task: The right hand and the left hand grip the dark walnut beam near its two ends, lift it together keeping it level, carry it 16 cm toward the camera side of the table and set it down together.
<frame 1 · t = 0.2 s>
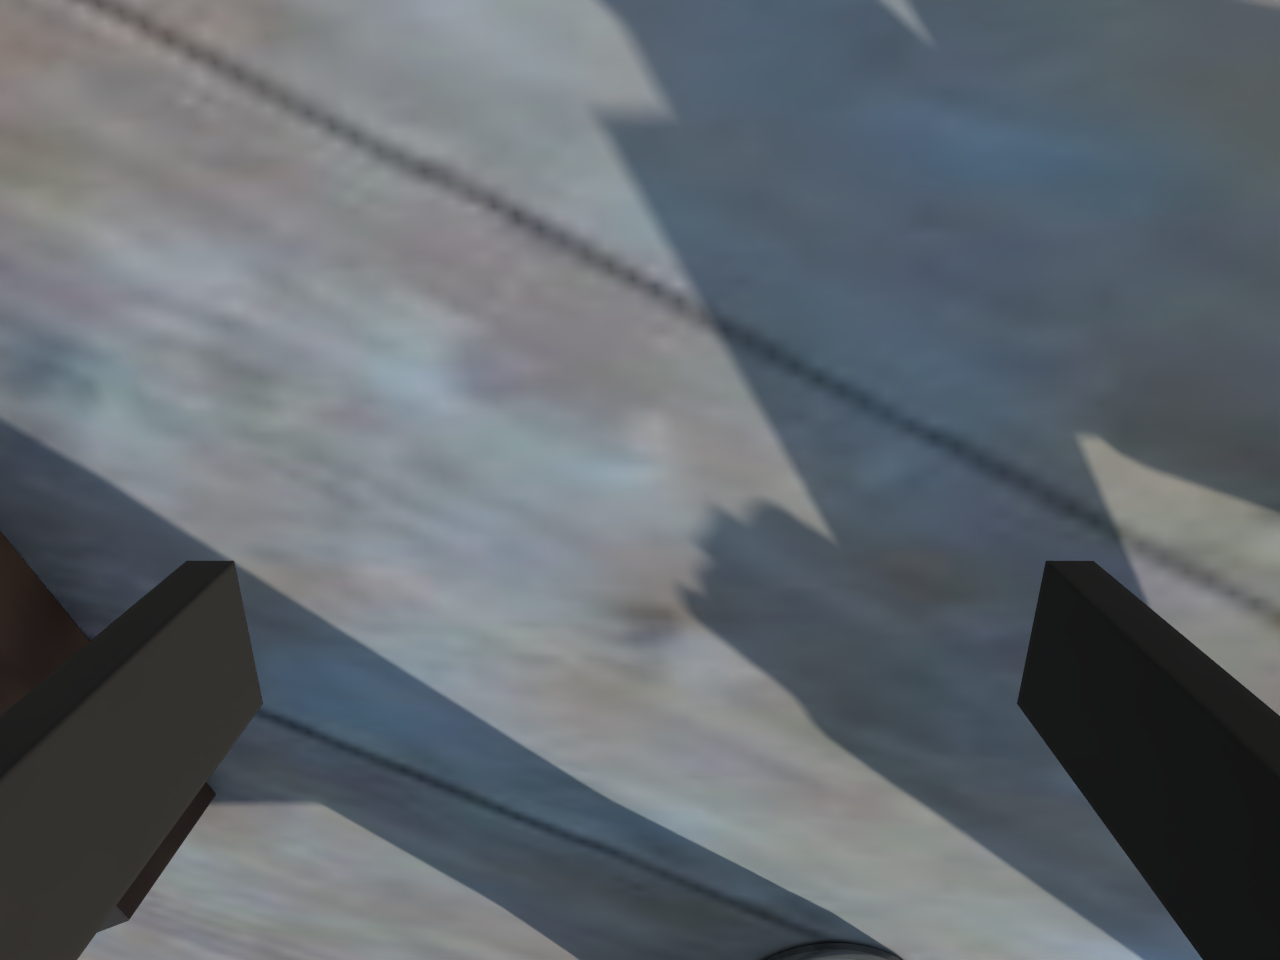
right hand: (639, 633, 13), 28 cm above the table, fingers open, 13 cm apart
walnut beam: (35, 632, 45), on the table
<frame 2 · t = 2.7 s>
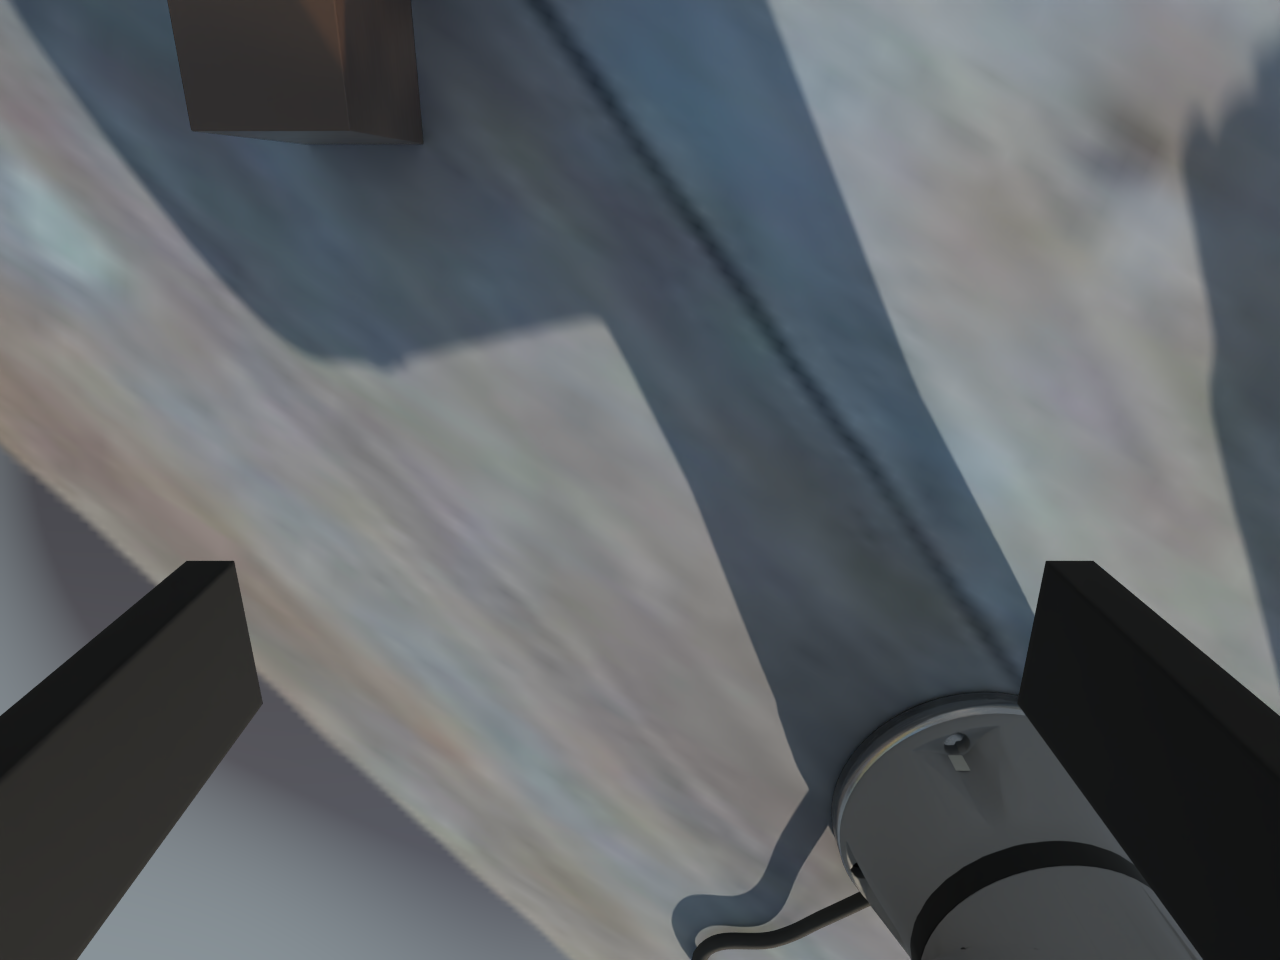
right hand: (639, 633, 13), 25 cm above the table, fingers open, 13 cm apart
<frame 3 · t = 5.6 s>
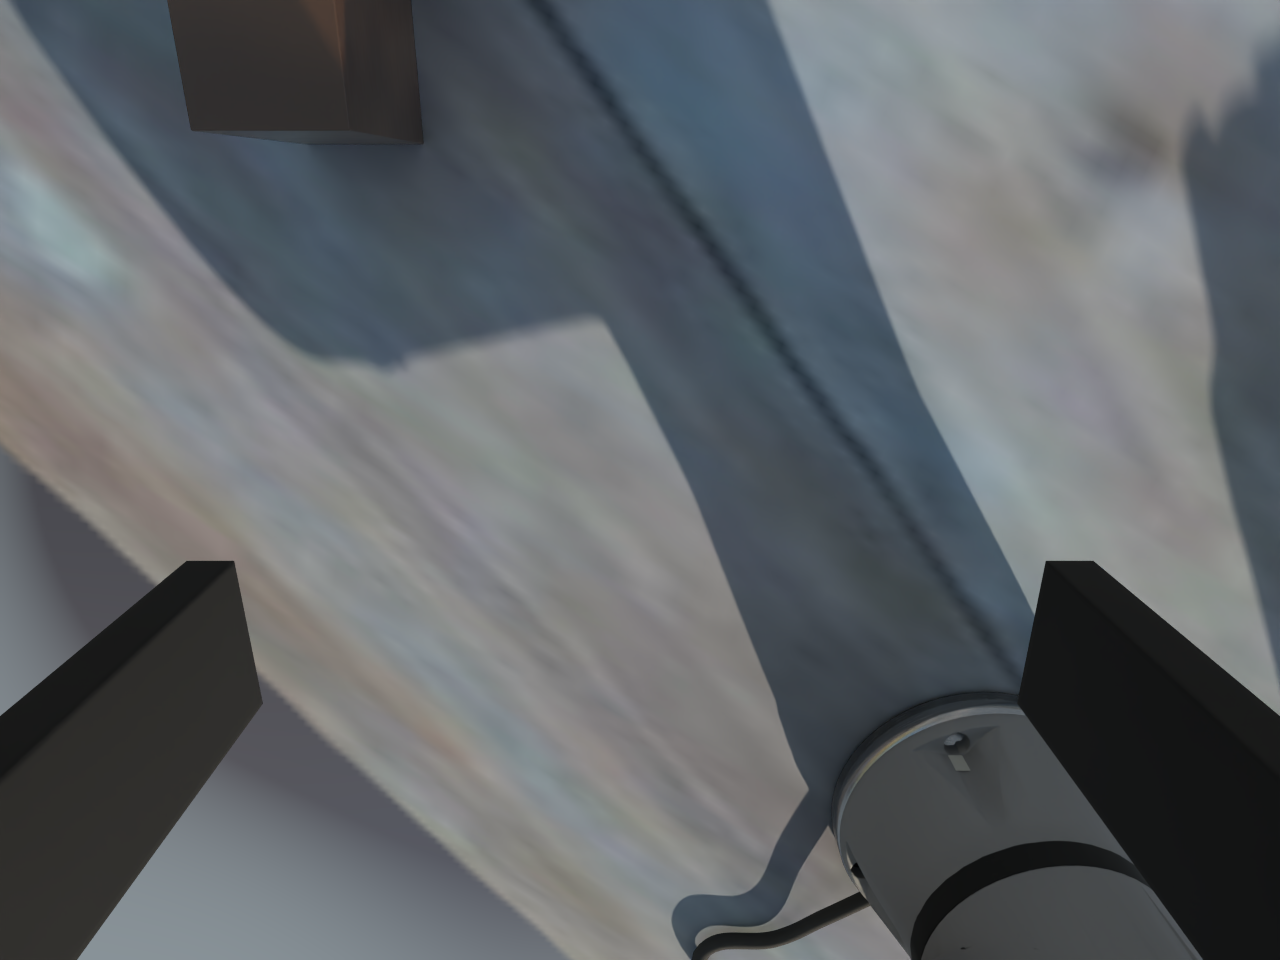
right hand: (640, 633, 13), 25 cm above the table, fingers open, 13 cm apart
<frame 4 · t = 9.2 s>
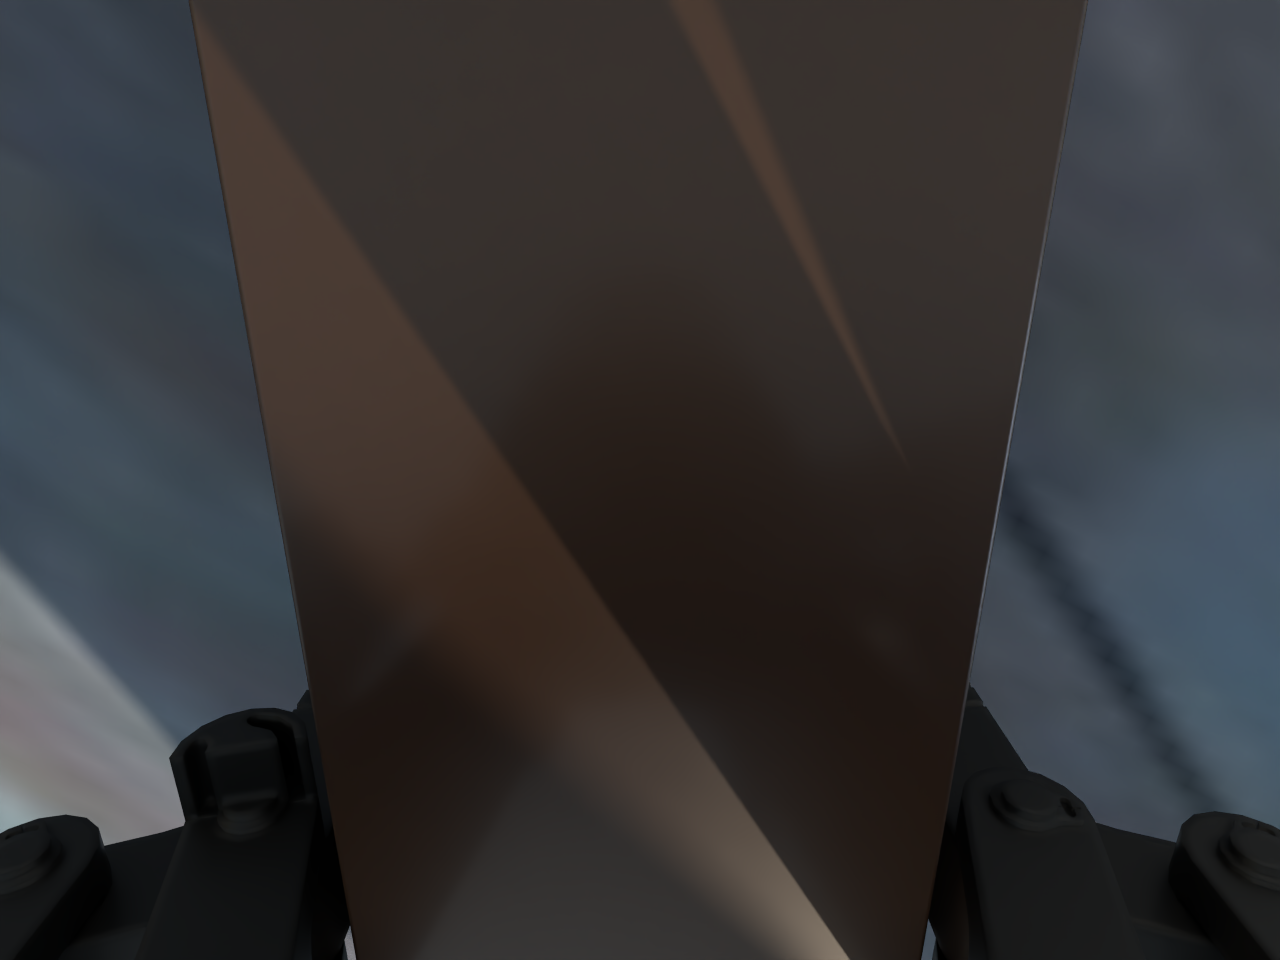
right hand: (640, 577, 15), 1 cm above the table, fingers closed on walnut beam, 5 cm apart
walnut beam: (640, 14, 12), on the table, touching right hand, left hand
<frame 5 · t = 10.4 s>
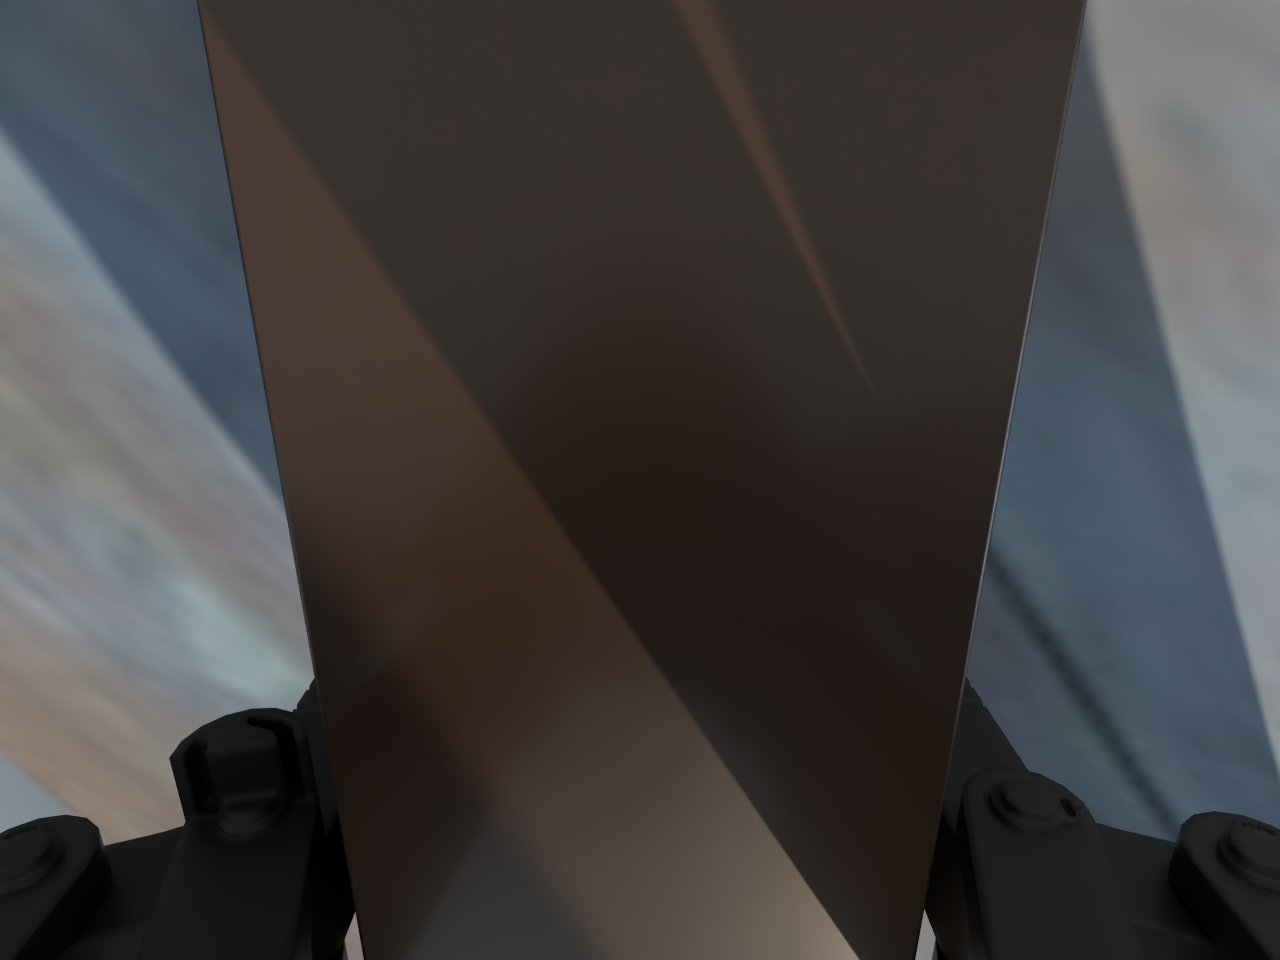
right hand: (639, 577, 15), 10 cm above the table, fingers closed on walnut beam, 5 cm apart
walnut beam: (640, 9, 12), point 9 cm above the table, touching right hand, left hand
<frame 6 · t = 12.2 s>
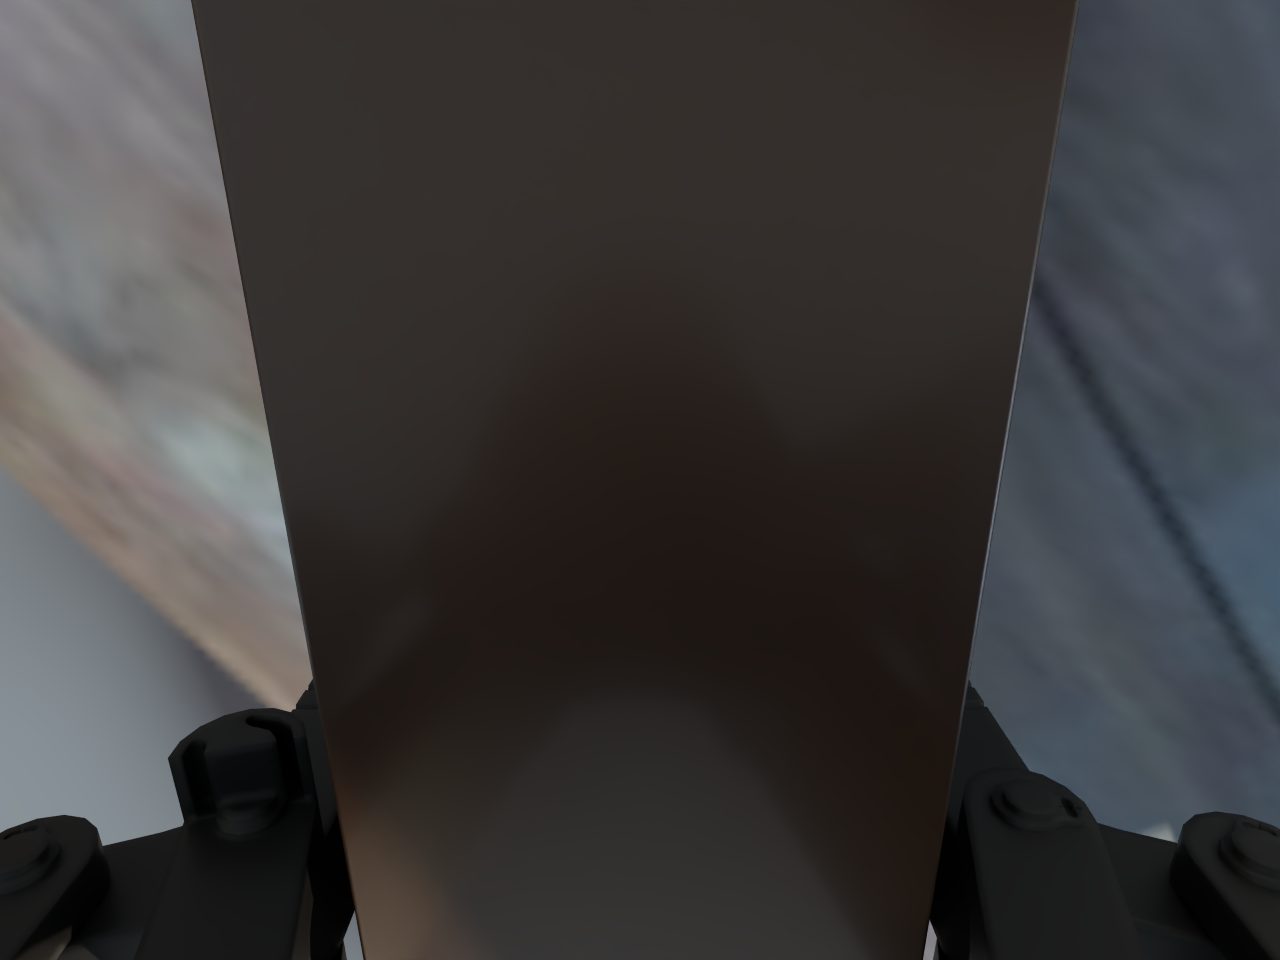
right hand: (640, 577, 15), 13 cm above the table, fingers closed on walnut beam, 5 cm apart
walnut beam: (634, 14, 12), point 12 cm above the table, touching right hand, left hand
when the right hand's fingers open (1 cm above the table, at t = 15.2 s): walnut beam stays where it is, on the table.
when the left hand's fingers open (4 cm above the table, at t = 15.4 s): walnut beam stays where it is, on the table.
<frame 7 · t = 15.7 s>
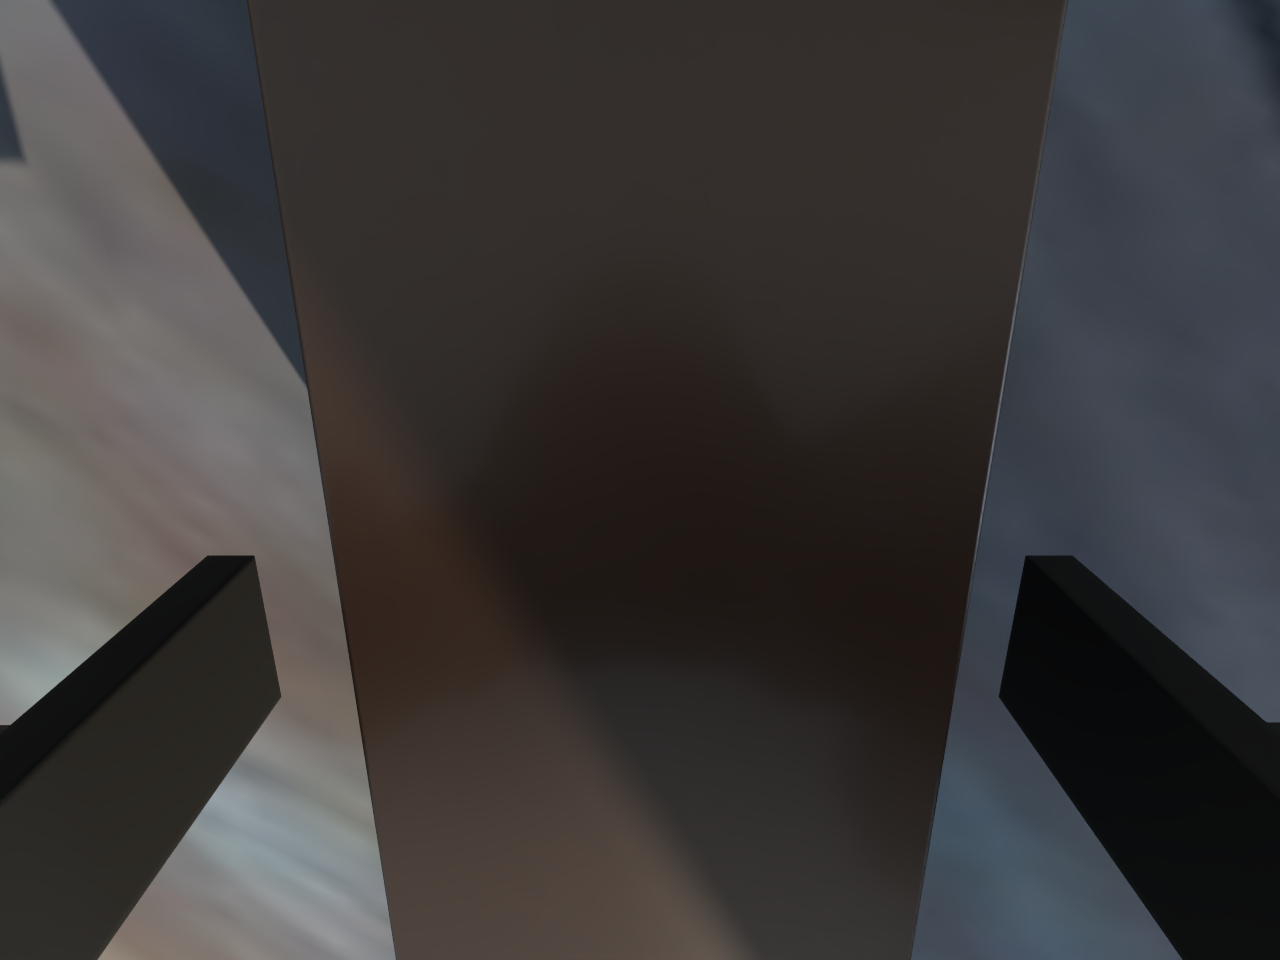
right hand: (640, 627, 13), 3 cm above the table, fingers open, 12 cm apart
walnut beam: (645, 17, 13), on the table
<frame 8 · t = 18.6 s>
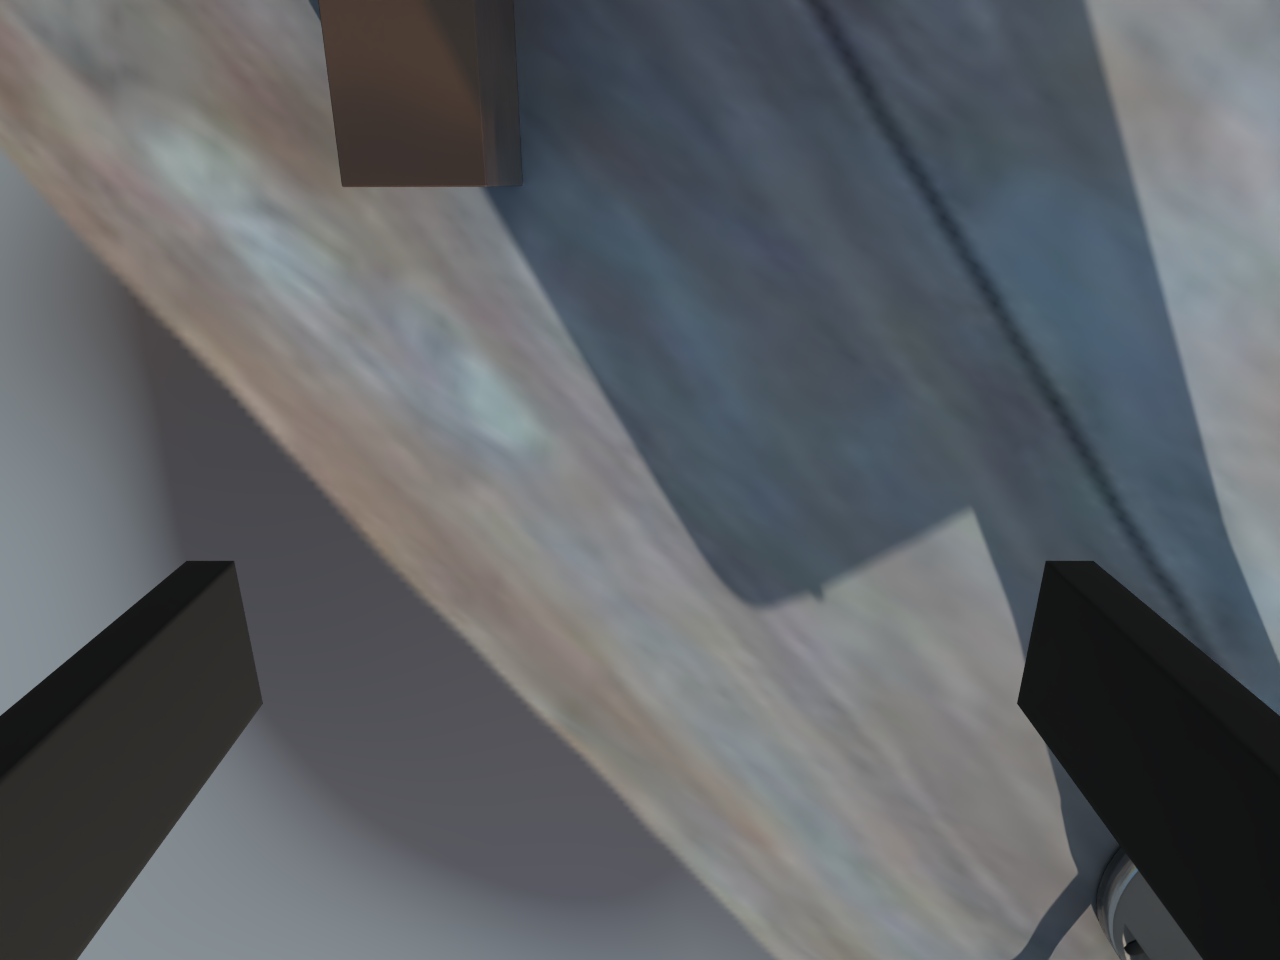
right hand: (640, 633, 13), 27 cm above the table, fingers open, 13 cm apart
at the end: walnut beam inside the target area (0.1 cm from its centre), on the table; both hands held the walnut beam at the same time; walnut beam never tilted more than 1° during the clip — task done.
